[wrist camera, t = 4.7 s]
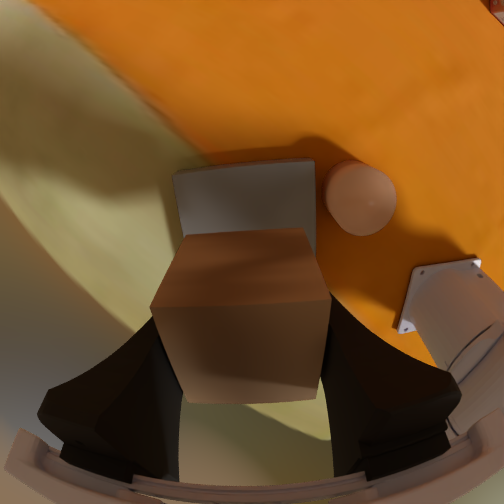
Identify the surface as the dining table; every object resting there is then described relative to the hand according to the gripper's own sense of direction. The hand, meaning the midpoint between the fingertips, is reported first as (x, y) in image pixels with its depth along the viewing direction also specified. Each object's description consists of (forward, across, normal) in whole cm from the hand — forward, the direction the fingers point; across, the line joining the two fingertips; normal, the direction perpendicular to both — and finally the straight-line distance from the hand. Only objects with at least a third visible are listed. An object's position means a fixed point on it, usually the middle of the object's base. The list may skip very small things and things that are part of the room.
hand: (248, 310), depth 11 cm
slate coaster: (+10, 0, 0) cm, 10 cm away
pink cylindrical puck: (+10, -8, -2) cm, 12 cm away
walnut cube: (+2, 0, 0) cm, 2 cm away
